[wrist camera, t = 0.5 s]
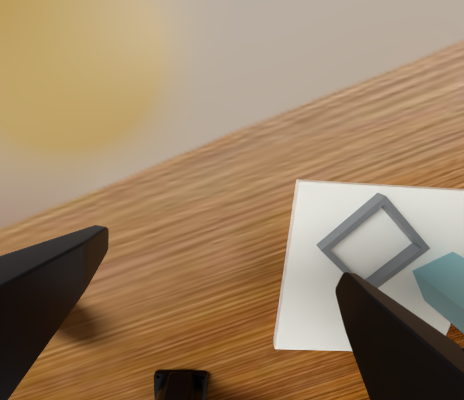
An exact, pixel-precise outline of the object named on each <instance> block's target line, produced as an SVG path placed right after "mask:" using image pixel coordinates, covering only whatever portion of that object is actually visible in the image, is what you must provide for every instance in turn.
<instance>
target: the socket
mask: <svg viewBox="0 0 464 400" xmlns="http://www.w3.org/2000/svg"><path fill="white" fill-rule="evenodd" d="M381 207H382V208H383V210H384V211H385V212H386V213H387V214H388V215H389V217H390V218H391V219H392V220H393V221H394V222H395V224H396V225H397V226H398V227H399V228H400V229H401V230H402V232H403V233H404V234H405V235H406V236H407V237H408V239H409V240H410V241H411V242H412V244H410V245H409V246H408V247H406V248H405V249H404V250H403V251H401V252H400V253H399V254H397V255H396V256H395V257H394V258H392V259H391V260H390V261H388V262H387V263H386V264H385V265H383V266H382V267H381V268H379V269H378V270H377V271H376V272H374V273H373V274H372V275H370V276H369V277H368V278H366V279H365V280H366V281H368V282H369V283H370V284H372V285H373V286H375V287H376V288H379V287H380V286H382V285H383V284H384V283H385V282H387V281H388V280H389V279H391V278H392V277H393V276H395V275H396V274H397V273H399V272H400V271H401V270H403V269H404V268H405V267H407V266H408V265H409V264H411V263H412V262H413V261H414V260H416V259H417V258H418V257H420V256H421V255H422V254H424V253H425V252H426V251H428V250H429V249H430V247H429V246H428V245H427V244H426V243H425V242H424V240H423V239H422V238H421V237H420V236H419V234H418V233H417V232H416V231H415V230H414V229H413V227H412V226H411V225H410V224H409V223H408V221H407V220H406V219H405V218H404V217H403V215H402V214H401V213H400V212H399V211H398V210H397V208H396V207H395V206H394V205H393V204H392V202H391V201H390V200H389V199H388V198H387V197H386V196H385V195H382V194H380V193H377V194H375V195H374V196H373V197H372V198H371V199H369V200H368V201H367V202H366V203H365V204H364V205H362V206H361V207H360V208H359V209H358V210H357V211H355V212H354V213H353V214H352V215H351V216H349V217H348V218H347V219H346V220H345V221H344V222H342V223H341V224H340V225H339V226H338V227H337V228H335V229H334V230H333V231H332V232H331V233H329V234H328V235H327V236H326V237H325V238H324V239H322V240H321V241H320V242H319V243H318V244H317V246H318V248H319V249H320V250H321V251H322V252H323V253H324V254H325V255H326V256H327V257H328V258H329V259H330V260H331V261H332V262H333V263H334V264H335V265H336V266H337V267H338V268H339V269H340V270H341V271H342V272H343V273H344V272H351V271H350V270H349V269H348V268H347V267H346V266H345V265H344V264H343V263H342V262H341V261H340V260H339V259H338V258H337V257H336V256H335V255H334V254H333V253H332V252H331V251H330V250H331V249H332V248H333V247H334V246H336V245H337V244H338V243H339V242H340V241H342V240H343V239H344V238H345V237H346V236H348V235H349V234H350V233H351V232H352V231H354V230H355V229H356V228H357V227H358V226H360V225H361V224H362V223H363V222H364V221H366V220H367V219H368V218H369V217H370V216H372V215H373V214H374V213H375V212H376V211H378V210H379V209H380V208H381ZM351 273H352V272H351Z"/></svg>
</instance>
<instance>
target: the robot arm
mask: <svg viewBox="0 0 464 400" xmlns="http://www.w3.org/2000/svg"><path fill="white" fill-rule="evenodd" d="M107 250H108V228H107V227H103V226H98V225H94V226H91V227H88V228H85V229H82V230H79V231H76V232H73V233H70V234H67V235H64V236H60V237H57V238H54V239H51V240H48V241H45V242H42V243H39V244H36V245H33V246H30V247H27V248H24V249H21V250H17V251H14V252H11V253H8V254H5V255H2V256H0V400H8V399H9V397H10V396H11V394H12V393H13V391H14V390H15V389H16V387H17V386H18V384H19V383H20V382H21V380H22V379H23V377H24V376H25V375H26V373H27V372H28V370H29V369H30V368H31V366H32V365H33V363H34V362H35V361H36V359H37V358H38V356H39V355H40V354H41V352H42V351H43V349H44V348H45V347H46V345H47V344H48V342H49V341H50V340H51V338H52V337H53V335H54V334H55V332H56V331H57V330H58V328H59V327H60V325H61V324H62V323H63V321H64V320H65V318H66V317H67V316H68V314H69V313H70V311H71V310H72V309H73V307H74V306H75V304H76V303H77V302H78V300H79V299H80V297H81V296H82V294H83V293H84V292H85V290H86V288H87V287H88V285H89V283H90V281H91V280H92V278H93V276H94V274H95V273H96V271H97V269H98V267H99V265H100V264H101V262H102V260H103V258H104V256H105V255H106V253H107ZM335 294H336V298H337V301H338V305H339V309H340V313H341V317H342V321H343V324H344V328H345V331H346V334H347V337H348V340H349V343H350V346H351V348H352V351H353V354H354V357H355V359H356V362H357V365H358V367H359V370H360V373H361V376H362V378H363V381H364V384H365V387H366V389H367V392H368V395H369V398H370V400H464V348H461V347H460V345H458V344H457V343H455V342H454V341H453V340H451V339H450V338H448V337H447V336H445V335H444V334H442V333H441V332H440V331H438V330H437V329H435V328H434V327H432V326H431V325H429V324H428V323H427V322H425V321H424V320H422V319H421V318H419V317H418V316H417V315H415V314H414V313H412V312H411V311H409V310H408V309H406V308H405V307H404V306H402V305H401V304H399V303H398V302H396V301H395V300H394V299H392V298H391V297H389V296H388V295H386V294H385V293H383V292H382V291H381V290H379V289H378V288H376V287H375V286H373V285H372V284H370V283H369V282H368V281H366V280H365V279H363V278H362V277H360V276H359V275H358V274H356V273H351V272H344V273H343V274H342V276H341V278H340V280H339V282H338V284H337V286H336V289H335ZM154 393H155V400H206V394H207V373H206V372H204V371H156V372H155V374H154Z"/></svg>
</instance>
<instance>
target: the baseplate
mask: <svg viewBox="0 0 464 400" xmlns="http://www.w3.org/2000/svg"><path fill="white" fill-rule="evenodd" d="M377 193H380V194H382V195H385V196H386V197H387V198H388V199H389V200H390V201H391V202H392V204H393V205H394V206H395V207H396V208H397V210H398V211H399V212H400V213H401V214H402V215H403V217H404V218H405V219H406V220H407V221H408V223H409V224H410V225H411V226H412V227H413V229H414V230H415V231H416V232H417V233H418V234H419V236H420V237H421V238H422V239H423V240H424V242H425V243H426V244H427V245H428V246H429V247H430V249H429V250H428V251H426V252H425V253H424V254H422V255H421V256H420V257H418V258H417V259H416V260H414V261H413V262H412V263H411V264H409V265H408V266H407V267H405V268H404V269H403V270H401V271H400V272H399V273H397V274H396V275H395V276H393V277H392V278H391V279H389V280H388V281H387V282H385V283H384V284H383V285H382V286H380V287H379V288H378V289H379V290H381V291H382V292H383V293H385V294H386V295H388V296H389V297H391V298H392V299H394V300H395V301H396V302H398V303H399V304H401V305H402V306H404V307H405V308H406V309H408V310H409V311H411V312H412V313H414V314H415V315H417V316H418V317H419V318H421V319H422V320H424V321H425V322H427V323H428V324H429V325H431V326H432V327H434V328H435V329H437V330H438V331H440V332H441V333H442V334H444V335H445V336H446V334H447V332H448V329H449V327H450V324H451V323H450V322H449V321H448V320H447V319H446V318H444V317H443V316H442V315H441V314H440V313H439V312H437V311H436V310H435V309H434V308H433V307H432V306H430V305H429V304H428V303H427V302H426V301H424V298H423V296H422V293H421V291H420V289H419V286H418V284H417V281H416V279H415V276H414V274H413V272H412V271H413V270H415V269H417V268H419V267H421V266H424V265H426V264H428V263H430V262H432V261H434V260H436V259H438V258H440V257H442V256H445V255H447V254H449V253H451V252H454V253H456V254H458V255H460V256H462V257H464V189H455V188H437V187H420V186H403V185H386V184H369V183H351V182H334V181H317V180H300V179H296V186H295V193H294V200H293V207H292V214H291V221H290V228H289V235H288V242H287V249H286V256H285V263H284V270H283V277H282V284H281V291H280V298H279V305H278V312H277V319H276V326H275V333H274V339H273V343H274V348H275V349H290V350H330V351H352V348H351V346H350V343H349V340H348V337H347V334H346V331H345V328H344V324H343V321H342V317H341V313H340V309H339V305H338V301H337V298H336V294H335V289H336V286H337V284H338V282H339V280H340V278H341V276H342V274H343V272H342V271H341V270H340V269H339V268H338V267H337V266H336V265H335V264H334V263H333V262H332V261H331V260H330V259H329V258H328V257H327V256H326V255H325V254H324V253H323V252H322V251H321V250H320V249H319V248H318V246H317V244H318V243H319V242H320V241H321V240H322V239H324V238H325V237H326V236H327V235H328V234H329V233H331V232H332V231H333V230H334V229H335V228H337V227H338V226H339V225H340V224H341V223H342V222H344V221H345V220H346V219H347V218H348V217H349V216H351V215H352V214H353V213H354V212H355V211H357V210H358V209H359V208H360V207H361V206H362V205H364V204H365V203H366V202H367V201H368V200H369V199H371V198H372V197H373V196H374V195H375V194H377ZM410 244H412V242H411V241H410V240H409V239H408V237H407V236H406V235H405V234H404V233H403V232H402V230H401V229H400V228H399V227H398V226H397V225H396V224H395V222H394V221H393V220H392V219H391V218H390V217H389V215H388V214H387V213H386V212H385V211H384V210H383V208H382V207H381V208H380V209H379V210H378V211H376V212H375V213H374V214H373V215H372V216H370V217H369V218H368V219H367V220H366V221H364V222H363V223H362V224H361V225H360V226H358V227H357V228H356V229H355V230H354V231H352V232H351V233H350V234H349V235H348V236H346V237H345V238H344V239H343V240H342V241H340V242H339V243H338V244H337V245H336V246H334V247H333V248H332V249H331V250H330V251H331V252H332V253H333V254H334V255H335V256H336V257H337V258H338V259H339V260H340V261H341V262H342V263H343V264H344V265H345V266H346V267H347V268H348V269H349V270H350V271H351V272H352V273H356V274H358V275H359V276H360V277H362V278H363V279H366V278H368V277H369V276H370V275H372V274H373V273H374V272H376V271H377V270H378V269H379V268H381V267H382V266H383V265H385V264H386V263H387V262H388V261H390V260H391V259H392V258H394V257H395V256H396V255H397V254H399V253H400V252H401V251H403V250H404V249H405V248H406V247H408V246H409V245H410Z"/></svg>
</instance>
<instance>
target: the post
mask: <svg viewBox="0 0 464 400" xmlns="http://www.w3.org/2000/svg"><path fill="white" fill-rule="evenodd" d="M412 272H413V274H414V276H415V279H416V281H417V284H418V286H419V289H420V291H421V293H422V296H423V298H424V301H426V302H427V303H428V304H429V305H430V306H432V307H433V308H434V309H435V310H436V311H437V312H439V313H440V314H441V315H442V316H443V317H444V318H446V319H447V320H448V321H449V322H450V323H452V324H453V325H454V326H455V327H456V328H457V329H459V330H460V331H461V332H462V333H463V334H464V257H462V256H460V255H458V254H456V253H454V252H451V253H449V254H447V255H445V256H442V257H440V258H438V259H436V260H434V261H432V262H430V263H428V264H426V265H424V266H421V267H419V268H417V269H415V270H413V271H412Z"/></svg>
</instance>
